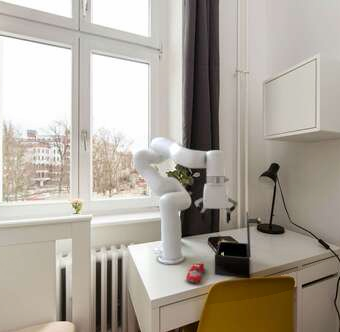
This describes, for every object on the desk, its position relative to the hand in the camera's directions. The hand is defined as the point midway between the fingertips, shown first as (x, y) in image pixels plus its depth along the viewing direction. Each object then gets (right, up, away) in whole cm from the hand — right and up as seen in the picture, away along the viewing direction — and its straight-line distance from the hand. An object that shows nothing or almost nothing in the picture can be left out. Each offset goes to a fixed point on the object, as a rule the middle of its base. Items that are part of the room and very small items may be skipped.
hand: (215, 222), depth 89 cm
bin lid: (+14, -6, +5) cm, 16 cm away
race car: (-8, -21, -2) cm, 23 cm away
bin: (+8, -21, +6) cm, 24 cm away
